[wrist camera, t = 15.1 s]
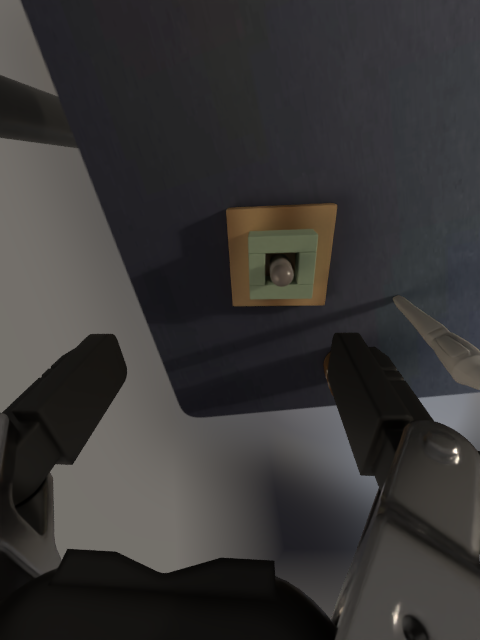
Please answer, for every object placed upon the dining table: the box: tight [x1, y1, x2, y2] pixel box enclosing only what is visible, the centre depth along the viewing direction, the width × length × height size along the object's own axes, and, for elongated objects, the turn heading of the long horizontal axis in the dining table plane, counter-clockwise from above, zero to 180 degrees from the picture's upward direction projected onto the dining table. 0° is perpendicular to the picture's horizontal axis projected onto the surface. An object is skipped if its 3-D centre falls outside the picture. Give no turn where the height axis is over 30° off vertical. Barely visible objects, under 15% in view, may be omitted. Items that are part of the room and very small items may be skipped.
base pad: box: [226, 203, 337, 306], centre depth 24 cm, size 10×10×6 cm
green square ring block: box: [248, 229, 318, 299], centre depth 24 cm, size 6×6×3 cm
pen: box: [393, 295, 480, 390], centre depth 22 cm, size 2×3×14 cm
